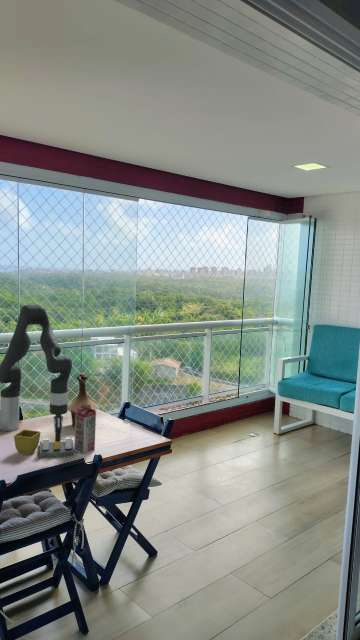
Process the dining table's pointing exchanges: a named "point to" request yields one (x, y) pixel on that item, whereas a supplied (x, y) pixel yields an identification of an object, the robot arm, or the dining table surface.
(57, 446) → the tab mid
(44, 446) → the tab left
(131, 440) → the dining table surface
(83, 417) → the juice carton
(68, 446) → the tab right
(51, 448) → the panel
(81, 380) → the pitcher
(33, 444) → the flower pot
